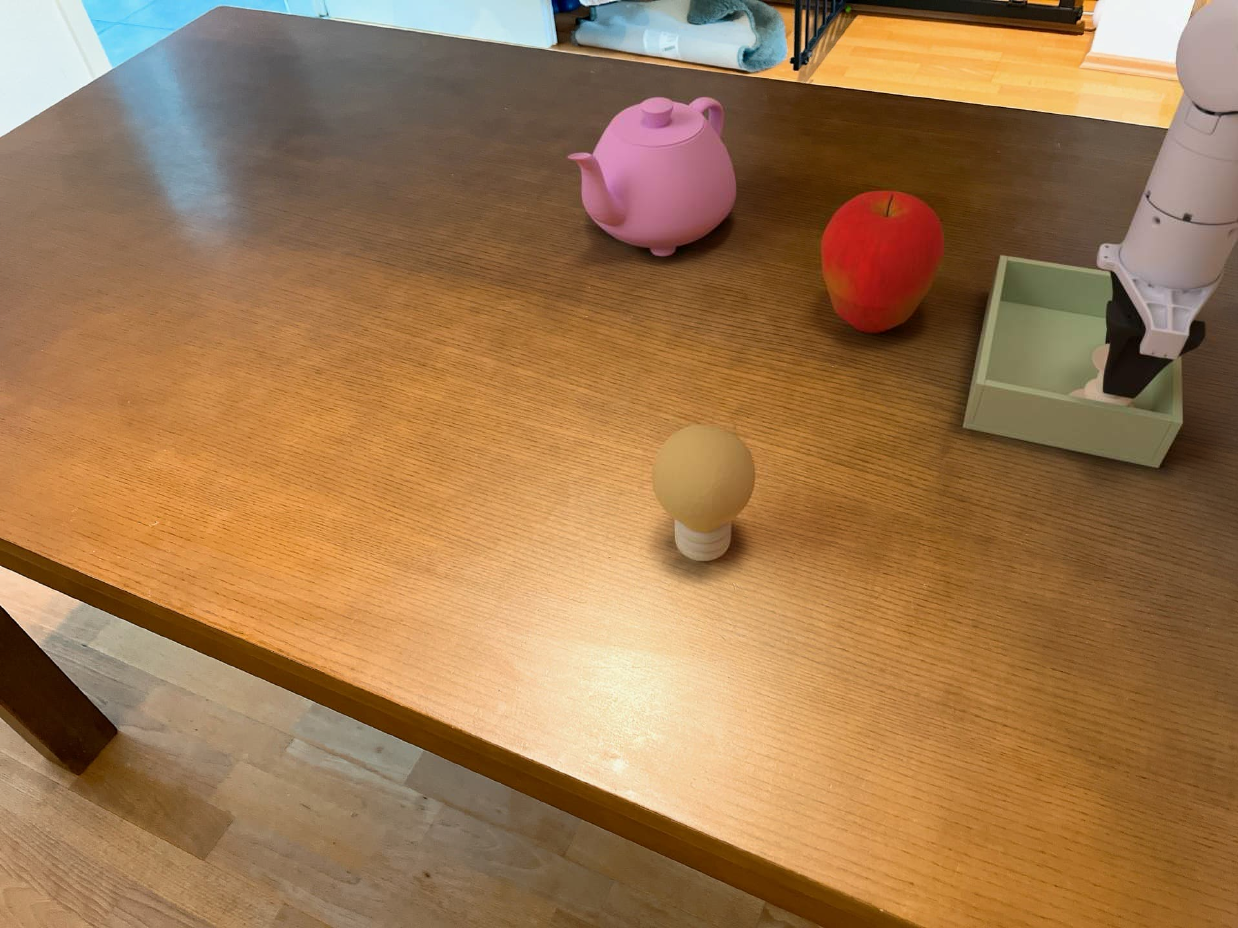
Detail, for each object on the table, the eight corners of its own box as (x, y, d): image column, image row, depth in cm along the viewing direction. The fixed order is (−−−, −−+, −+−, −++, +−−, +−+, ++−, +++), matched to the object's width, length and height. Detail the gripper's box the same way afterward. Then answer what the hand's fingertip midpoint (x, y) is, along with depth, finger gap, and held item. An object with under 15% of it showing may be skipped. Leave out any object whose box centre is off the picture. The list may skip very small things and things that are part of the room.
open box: (1158, 328, 74) (1179, 282, 71) (1158, 468, 64) (1183, 423, 61) (987, 299, 78) (1000, 254, 75) (962, 428, 68) (976, 383, 65)
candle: (1060, 387, 70) (1104, 273, 62) (1135, 399, 68) (1190, 284, 61) (1059, 435, 66) (1106, 321, 59) (1138, 448, 65) (1197, 333, 57)
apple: (931, 295, 79) (960, 168, 70) (921, 363, 73) (951, 233, 64) (822, 281, 81) (837, 155, 72) (804, 345, 76) (818, 217, 67)
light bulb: (683, 495, 65) (681, 392, 58) (765, 528, 63) (775, 425, 56) (638, 559, 62) (630, 458, 54) (724, 597, 59) (727, 496, 52)
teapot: (636, 307, 80) (629, 181, 71) (528, 248, 88) (509, 127, 79) (778, 208, 89) (786, 86, 81) (669, 162, 97) (667, 46, 88)
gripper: (1126, 131, 60) (1064, 300, 70) (1120, 256, 51) (1050, 429, 61) (1248, 145, 58) (1167, 317, 68) (1264, 278, 49) (1168, 453, 59)
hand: (1119, 371), depth 64 cm, fingers closed on candle, 4 cm apart
